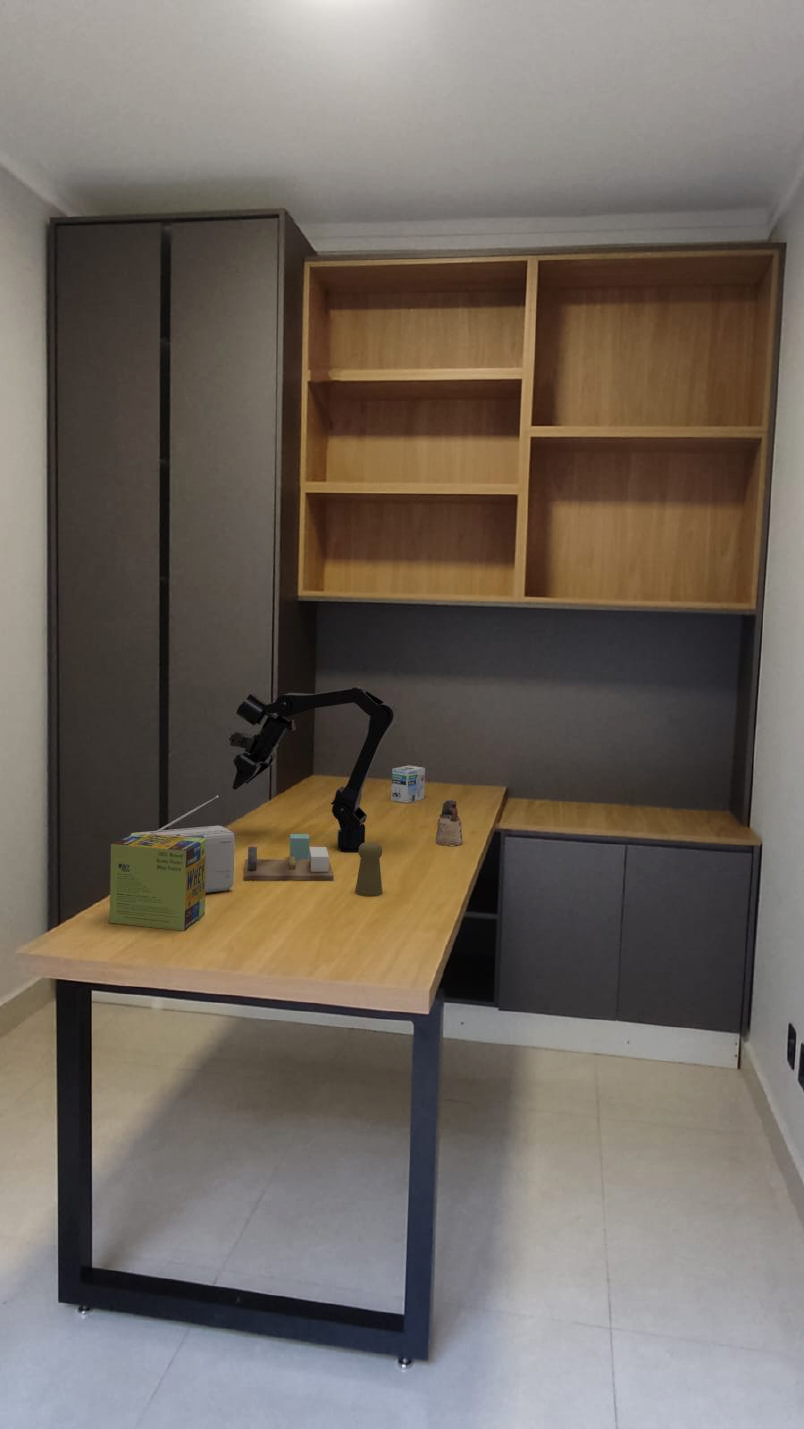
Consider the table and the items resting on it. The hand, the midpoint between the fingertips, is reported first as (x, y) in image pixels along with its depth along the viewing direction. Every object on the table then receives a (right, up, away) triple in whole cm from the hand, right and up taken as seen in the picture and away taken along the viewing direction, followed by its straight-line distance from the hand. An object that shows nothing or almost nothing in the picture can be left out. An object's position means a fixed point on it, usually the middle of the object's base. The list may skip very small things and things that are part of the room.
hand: (239, 785), depth 247 cm
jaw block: (+17, -17, -16) cm, 29 cm away
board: (+16, -18, -28) cm, 37 cm away
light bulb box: (+44, -10, +65) cm, 80 cm away
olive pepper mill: (+35, -20, -41) cm, 57 cm away
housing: (+23, -17, -27) cm, 39 cm away
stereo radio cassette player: (-4, -19, -47) cm, 51 cm away
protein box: (-5, -21, -64) cm, 68 cm away
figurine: (+55, -16, +8) cm, 58 cm away
